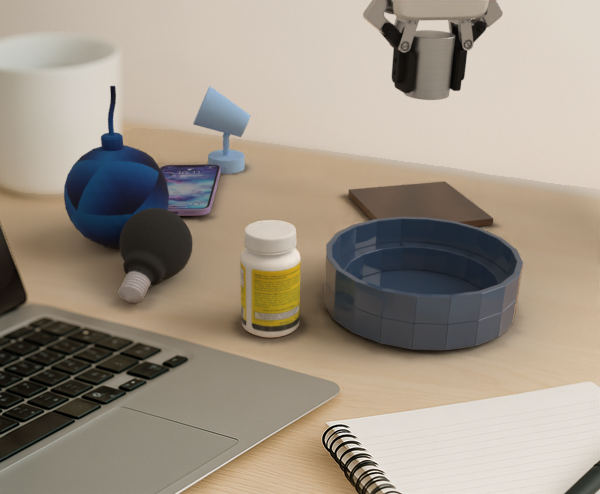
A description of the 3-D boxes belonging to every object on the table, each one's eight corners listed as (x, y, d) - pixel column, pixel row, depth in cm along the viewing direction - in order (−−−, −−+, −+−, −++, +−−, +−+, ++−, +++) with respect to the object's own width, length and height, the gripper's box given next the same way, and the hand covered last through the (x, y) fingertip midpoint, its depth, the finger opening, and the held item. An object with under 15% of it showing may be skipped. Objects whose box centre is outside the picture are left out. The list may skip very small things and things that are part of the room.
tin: (437, 88, 88) (443, 29, 85) (456, 98, 84) (463, 37, 81) (397, 90, 86) (401, 30, 84) (414, 101, 82) (419, 38, 80)
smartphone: (139, 210, 87) (160, 164, 100) (140, 218, 87) (161, 171, 101) (209, 209, 87) (221, 164, 100) (210, 217, 87) (222, 171, 101)
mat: (444, 187, 97) (445, 181, 97) (492, 225, 87) (493, 218, 87) (348, 195, 94) (348, 189, 94) (386, 236, 84) (387, 228, 84)
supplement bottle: (311, 325, 67) (314, 230, 63) (268, 345, 64) (268, 246, 61) (272, 305, 70) (272, 212, 66) (229, 323, 67) (226, 227, 64)
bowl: (461, 258, 80) (467, 210, 77) (550, 340, 66) (561, 283, 64) (302, 276, 75) (303, 225, 73) (361, 367, 62) (365, 308, 60)
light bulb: (89, 265, 67) (134, 185, 73) (93, 313, 72) (135, 234, 78) (165, 286, 67) (203, 204, 73) (164, 333, 71) (200, 252, 78)
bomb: (182, 222, 86) (174, 77, 80) (159, 266, 77) (148, 105, 70) (90, 219, 87) (74, 74, 80) (56, 262, 77) (35, 101, 70)
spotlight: (193, 173, 100) (250, 174, 100) (189, 91, 96) (249, 92, 96) (196, 160, 105) (251, 161, 105) (194, 81, 100) (251, 82, 100)
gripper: (507, -109, 82) (484, 77, 90) (345, -113, 77) (336, 84, 86) (548, -107, 75) (519, 94, 84) (373, -111, 71) (361, 102, 79)
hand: (427, 87), depth 85 cm, fingers closed on tin, 4 cm apart
